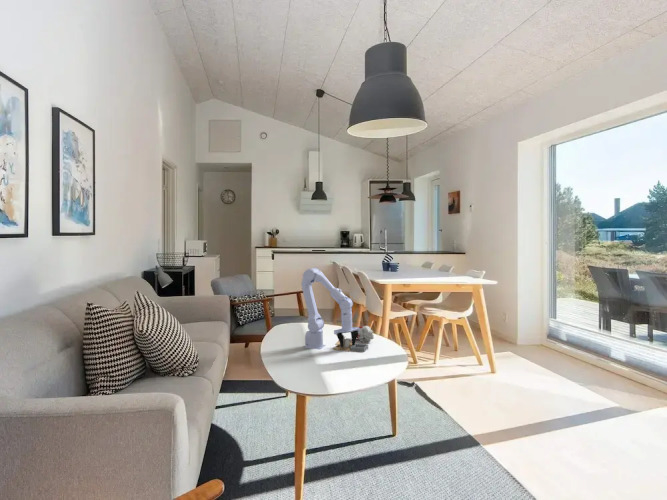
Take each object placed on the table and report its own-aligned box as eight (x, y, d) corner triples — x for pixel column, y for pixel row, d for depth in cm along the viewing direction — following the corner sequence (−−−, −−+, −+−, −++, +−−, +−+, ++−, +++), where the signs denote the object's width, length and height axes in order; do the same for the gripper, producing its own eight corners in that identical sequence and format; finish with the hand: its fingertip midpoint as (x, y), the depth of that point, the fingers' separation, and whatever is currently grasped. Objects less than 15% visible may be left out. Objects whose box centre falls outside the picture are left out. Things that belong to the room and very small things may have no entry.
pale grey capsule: (342, 349, 231) (342, 339, 231) (345, 348, 234) (344, 338, 234) (348, 350, 229) (348, 340, 229) (350, 348, 233) (350, 338, 232)
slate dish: (350, 351, 229) (350, 346, 229) (355, 347, 236) (355, 343, 236) (364, 352, 226) (363, 348, 226) (368, 349, 233) (368, 344, 233)
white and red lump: (373, 343, 242) (348, 344, 248) (379, 338, 253) (355, 339, 258) (371, 327, 242) (346, 329, 248) (377, 323, 253) (353, 324, 258)
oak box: (334, 350, 232) (334, 347, 232) (340, 346, 240) (340, 343, 240) (349, 351, 228) (349, 348, 228) (355, 347, 236) (355, 344, 236)
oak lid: (334, 345, 241) (334, 342, 241) (338, 341, 250) (338, 338, 250) (350, 346, 239) (350, 343, 239) (353, 342, 248) (353, 339, 248)
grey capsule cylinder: (339, 347, 235) (338, 337, 235) (341, 345, 239) (341, 336, 238) (344, 347, 234) (344, 338, 234) (347, 346, 237) (346, 336, 237)
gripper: (337, 323, 225) (338, 349, 225) (362, 320, 230) (362, 345, 231) (332, 321, 231) (333, 346, 232) (356, 318, 237) (357, 342, 237)
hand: (347, 345), depth 232 cm, fingers open, 6 cm apart
